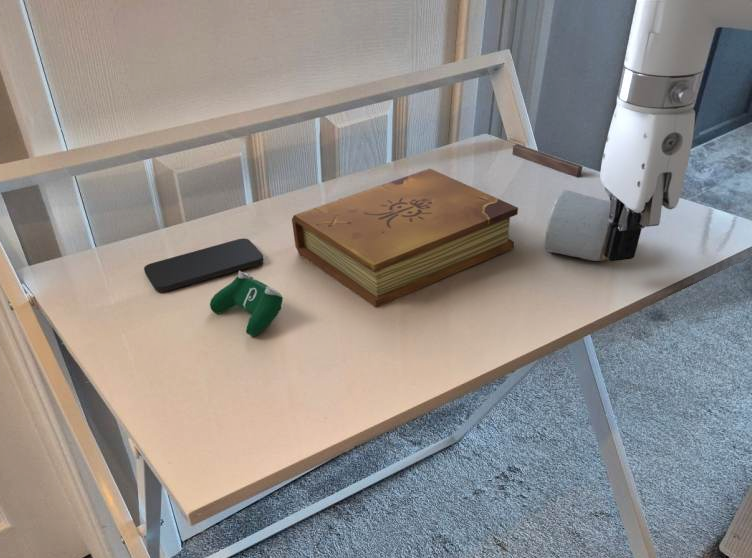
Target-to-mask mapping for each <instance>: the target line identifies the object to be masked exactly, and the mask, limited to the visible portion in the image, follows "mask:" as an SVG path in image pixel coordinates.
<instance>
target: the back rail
mask: <svg viewBox="0 0 752 558" xmlns="http://www.w3.org/2000/svg"><path fill="white" fill-rule="evenodd" d="M512 155H513V156H516V157H519V158H521V159H524V160H527V161H530V162H533V163H536V164H538V165H541V166H544V167H547V168H549V169H552V170H555V171H558V172H561V173H564V174H567V175H569V176H572V177H574V178H579V177H581V176H582V173H583V172H582V171H583V165H580V164H576V163H574V162H571V161H569V160H565V159H562V158H560V157H558V156H553V155H552V154H548V153H545V152H542V151H539V150H536V149H533V148H530V147H527V146H524V145H521V144H518V143H516V144H513V145H512Z"/></svg>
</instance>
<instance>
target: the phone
mask: <svg viewBox="0 0 752 558" xmlns="http://www.w3.org/2000/svg"><path fill="white" fill-rule="evenodd" d="M264 261H265V260H264V254H263V252H261V251H260V250H259V249H258V247H256V245H255V244H254V243H253V242H252V241H251V240H250V239H248V238H237V239H234V240H231V241H227V242H222V243H219V244H216V245H212V246H209V247H205V248H202V249H198V250H194V251H191V252H190V251H189V252H187V253H182V254H180V255H175V256H172V257H169V258H165V259H161V260H158V261H155V262H151V263H148V264H146V265H145V266H144V267H143V270H144V274H145V276H146V277H147V279H148V281H149V283H150V284H151V286H152V287H153V289H154V291H156V292H157V293H158V292H159V293H164V292H163V291H165V292H169V291H172V290H176V289H179V288H183V287H186V286H189V285H193V284H196V283H199V282H203V281H206V280H209V279H214V278H217V277H220V276H223V275H227V274H231V273H234V272H237V271H241V270H245V269H248V268H251V267H254V266H257V265H261V264H262V263H263V262H264Z"/></svg>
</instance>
